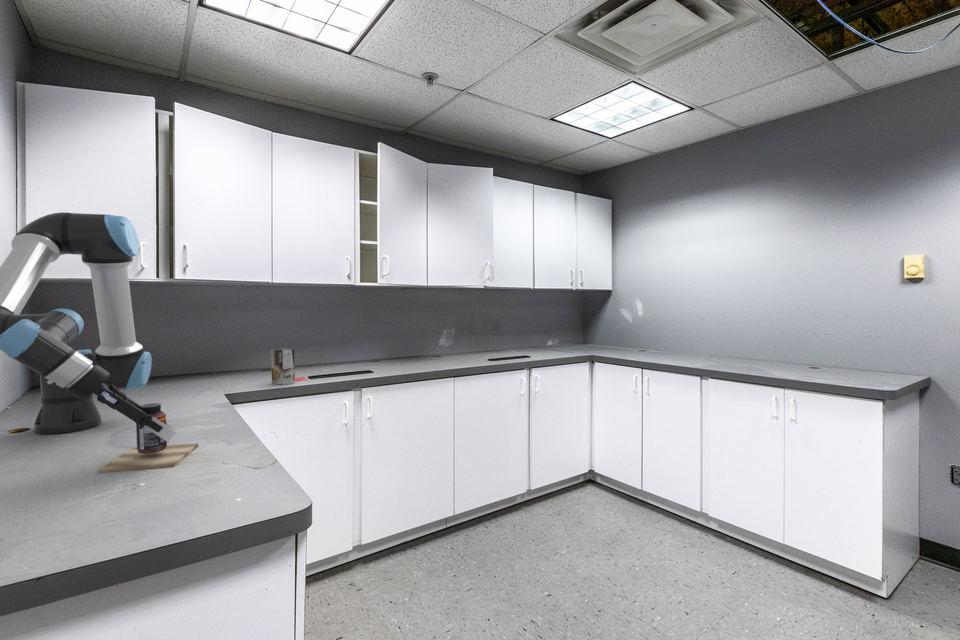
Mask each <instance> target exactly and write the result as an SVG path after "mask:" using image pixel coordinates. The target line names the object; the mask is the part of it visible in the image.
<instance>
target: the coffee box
mask: <svg viewBox="0 0 960 640" xmlns="http://www.w3.org/2000/svg"><path fill="white" fill-rule="evenodd" d="M270 361H271V362H270V363H271V366H270V367H271V384H275V385H289V384H295V383H296V382H295V381H296V380H295V379H296V378H295V377H296V376H295V375H296V374H295V373H296V372H295V348H285V347H283V348H282V347H281V348H273V349H270Z"/></svg>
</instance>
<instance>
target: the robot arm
mask: <svg viewBox="0 0 960 640" xmlns="http://www.w3.org/2000/svg"><path fill="white" fill-rule="evenodd" d="M11 247H12V249H11V251H9V253H8V255H7V257H6V258H5V259H4V261H3V262H2V264H1V265H0V351H1V352H2V353H3V354H5V355H6V356H8V358H10V359H14V361H17V362H19V363H20V364H22V365H24V366H26V367H27V368H29V369H31V370H32V371H34V372H35V373H37V374H39V381H40V384H39V385H40V399H41V403H40V404H41V405H40V408H39V411H38V414H37V416H36V419H35V421H34V424H33V432H34V433H35V434H37V433H39V434H40V435H54V434H56V435H57V434H63V433H64V434H65V433H71V432H72V433H73V432H77V431H78V432H79V431H82V430H86V429H90V428H91V429H92V428H93V427H94V428H95V427H96V426H99V425H101V424H102V415H101V413H100V411H99V408H98V407H97V404H96V403H95V400H94V395H95V396H97V397H96V399H97V401H98V402H99V403H101V404H103V405H106V406H108V407H109V408H111V409H112V410H115V411H117V412H119V413H120V414H122V415H124V416H125V417H127V418H128V419H129V420H131V421H133V422H134V423H135V424H136V423H137V424H139V426H140V427H139V428H140V429H142V428H143V427H145V428H146V429H148V430H150V431H151V432H153V433H154V434H156V435H158V436H159V437H161V438H162V439H164V440H165V441H167V443H169V441H170V440H171V439H172V438H173V437H175V435H176V434H178V431H175V430H174V429H172V428H173V425H170V424H169V423H168V422H166V425H165V424H163V423H162V422H160V421H159V420H157V419H156V418H154V417H152V416H149V415H148V414H146V413H145V412H144V411H142V410H141V406H142V405H141V404H139V403H138V402H136V401H134V400H133V399H131V398H130V397H128V396H127V395H126V394H125V393H124V392H123V391H129V390H136V389H141V388H143V387H145V386H146V384H147V383H148V381H149V379H150V376H151V370H152V361H153V359H152V355H151V353H150V351H144V346H143V344H141V343H140V342H138V341H137V337H136V330H135V322H134V314H133V313H134V312H133V307H132V306H133V305H132V295H131V287H130V280H129V278H130V277H129V271H128V270H129V268H128V267H129V266H130V265H131V263H133V262H134V261H133V259H134V257H137V256H138V255H139V252H140V242H139V237H138V234H137V231H136V228H135V226H134V225H133V223H132V222H131V220H129V219H128V217H125V216H121V215H114V214H108V213H107V214H102V213H101V214H100V213H77V212H74V213H73V212H53V213H50V214H47V215H43V216H41V217H38V218H37V219H34V220H32V221H31V222H29V223H28V224H26V225H25V226H23V227H22V228H21V229H20V230H19V231H18V232H17V233H16V234H15V235H14V237H13V239H12V240H11ZM64 255H79V256H81V262H82V263H83V264H84V265H86V266H87V267H88V268H90V269H89V270H90V276H91V277H90V278H91V284H92V290H93V296H94V297H93V299H94V306H95V312H96V313H95V314H96V319H97V327H98V333H99V342H100V345H99V346H98V347H97V348H96V349H95V352H94V353H93V351H92V350H91V349H90V348H89V349H79V350H76V349H74V348H73V347H71V346H69V345H70V344H71V343H72V342H73V341H75V340H76V339H77V338H78V337H79V335H80V334H81V333H82V332H83V329H84V325H85V323H84V320H83V318H82V316H80V314H79V313H77V311H74V310H72V309H68V308H55V309H53V310H50V311H48V312H46V313H35V314H34V313H33V314H32V313H31V314H29V313H28V314H26V313H24V314H21V313H22V311H23V309H24V307H25V306H26V304H27V302H28V301H29V299H30V297H31V296H32V294H33V292H34V290H35V289H36V287H37V285H39V282H40V280H41V279H42V277H43V276H44V274H45V271H46V270H47V268H48V267H49V264H50V263H54V262H56V261H57V260H58V259H59V258H60V257H61V256H64ZM141 419H142V420H141ZM140 420H141V421H140ZM39 434H38V435H39Z"/></svg>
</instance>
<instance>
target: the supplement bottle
mask: <svg viewBox="0 0 960 640" xmlns="http://www.w3.org/2000/svg"><path fill="white" fill-rule="evenodd" d="M161 404H162V403H159V402H158V403H157V402H153V403H152V402H151V403H145V404H142V405H140V406H141V410H142V411H144V412H145V413H146V414H148V415H149V416H152V417H154V418H156V419H157V420H159V421H160V422H162V423H163V424H165V425H166V423H167V414H166V413H165V412H164V411H162V410H161V409H162V405H161ZM141 420H142V419H141ZM141 420H140V421H141ZM135 426H136V427H135V430H136V448H137V451H138V453H141V454H150V453H156V452H159V451H162V450H164V449H166V447H167V445H168V442H167V441H165V440H164V439H162V438H161V437H159V436H158V435H156V434H154V433H153V432H151V431H150V430H148V429H146V428H145V427H143V428H142V429H140V428H139V427H140V426H139V424H137V423H136V422H135Z"/></svg>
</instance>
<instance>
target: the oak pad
mask: <svg viewBox="0 0 960 640" xmlns="http://www.w3.org/2000/svg"><path fill="white" fill-rule="evenodd" d="M197 446H198V447H199V443H198V442H196V443H183V444H171V445H170V444H169V445H168V444H167V447H166V449H164V450H162V451H159V452H156V453H150V454H141V453H138V451H137V447H132V448H130V449H128V450H127V451H125V452H124V453H122V454H121V455H119V456H118V457H116V458H114V459H112V460H111V461H109V462H107V463H106V464H105V465H103V466H102V467H100V468H98V473H106V472H107V473H109V472H121V471H135V470H145V469H146V470H147V469H157V468H160V467H161V468H170V467H169V466H173V467H176V466H177V465H178V464H180V463H181V462H182V461H183V460H184V459H185V458H187V457H188V456H189V455H190V454H191V453H193V452H194V451H195V450H196V449H197V448H198V447H197ZM196 447H197V448H196ZM195 448H196V449H195ZM194 449H195V450H194ZM190 452H191V453H190ZM189 453H190V454H189ZM188 454H189V455H188ZM187 455H188V456H187ZM184 457H185V458H184ZM183 458H184V459H183ZM182 459H183V460H182ZM181 460H182V461H181ZM180 461H181V462H180ZM176 464H177V465H176ZM175 465H176V466H175Z"/></svg>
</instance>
